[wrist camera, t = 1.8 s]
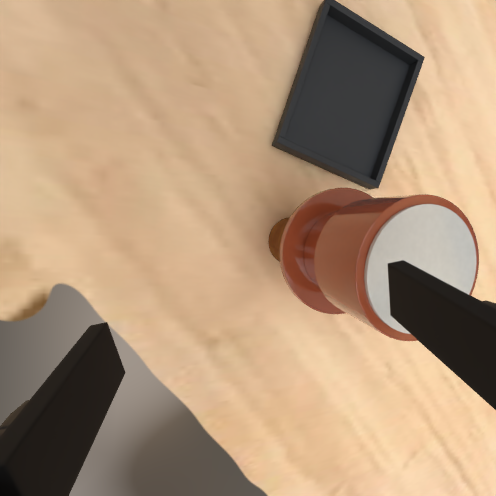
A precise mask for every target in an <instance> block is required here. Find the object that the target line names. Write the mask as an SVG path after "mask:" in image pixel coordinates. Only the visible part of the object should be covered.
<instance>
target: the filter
mask: <svg viewBox="0 0 496 496" xmlns="http://www.w3.org/2000/svg"><path fill="white" fill-rule="evenodd" d="M401 260H404V261H406V262H408V263H410V264H412V265H414V266H416V267H417V268H419V269H421V270H423V271H425V272H427V273H429V274H431V275H433V276H434V277H436V278H438V279H440V280H442V281H444V282H446V283H448V284H450V285H451V286H453V287H455V288H457V289H459V290H461V291H463V292H465V293H467V294H468V295H470V296H471V294H472V292H473V289H474V286H475V283H476V279H477V274H478V265H479V252H478V245H477V240H476V236H475V233H474V231H473V228H472V226H471V224H470V222H469V220H468V219H467V217H466V216H465V215H464V213H463V212H462V211H461V210H460V209H459V208H458V207H457V206H455V205H454V204H453V203H451V202H449V201H448V200H446V199H444V198H441V197H438V196H434V195H409V196H396V197H384V198H373V197H371V196H370V195H368V194H366V193H364V192H362V191H359V190H356V189H351V188H335V189H329V190H325V191H322V192H319V193H317V194H315V195H313V196H311V197H310V198H308V199H307V200H305V201H304V202H303V203H302V204H301V205H300V206H299V207H298V208H297V209H296V210H295V211H294V213H293V214H292V216H291V217H290V219H289V221H288V223H287V224H286V227H285V229H284V232H283V235H282V239H281V245H280V264H281V269H282V273H283V276H284V279H285V281H286V283H287V285H288V287H289V288H290V290H291V291H292V292H293V294H294V295H295V296H296V297H297V298H298V299H299V300H300V301H302V302H303V303H304V304H306V305H307V306H309V307H310V308H312V309H314V310H317V311H320V312H323V313H328V314H343V313H347V314H349V315H351V316H352V317H354V318H356V319H358V320H359V321H361V322H363V323H365V324H367V325H368V326H370V327H372V328H374V329H375V330H377V331H379V332H381V333H382V334H384V335H386V336H388V337H390V338H393V339H397V340H402V341H417V339H416V338H415V337H414V336H413V335H412V334H411V333H409V332H408V331H407V330H406V329H405V328H404V327H403V326H402V325H401V324H399V323H398V322H397V321H396V320H395V319H394V318H393V317H392V316H390V298H389V281H388V263H392V262H397V261H401Z"/></svg>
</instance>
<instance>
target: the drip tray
mask: <svg viewBox="0 0 496 496" xmlns="http://www.w3.org/2000/svg"><path fill="white" fill-rule="evenodd" d="M424 58H425V57H423V56H422V55H420V54H419V53H417V52H416V51H414V50H412V49H411V48H409V47H408V46H406V45H404V44H403V43H401V42H400V41H398V40H397V39H395V38H393V37H392V36H390V35H389V34H387V33H385V32H384V31H382V30H381V29H379V28H378V27H376V26H374V25H373V24H371V23H370V22H368V21H366V20H365V19H363V18H362V17H360V16H359V15H357V14H355V13H354V12H352V11H351V10H349V9H348V8H346V7H344V6H343V5H341V4H340V3H338V2H336V1H335V0H324V1H323V3H322V4H321V5H320V7H319V10H318V13H317V16H316V18H315V21H314V24H313V27H312V30H311V33H310V36H309V39H308V42H307V45H306V48H305V50H304V53H303V56H302V59H301V62H300V65H299V68H298V71H297V74H296V77H295V79H294V82H293V85H292V88H291V91H290V94H289V97H288V100H287V103H286V106H285V109H284V111H283V114H282V117H281V120H280V123H279V126H278V129H277V132H276V135H275V138H274V141H273V143H272V146H274V147H276V148H278V149H281V150H283V151H285V152H287V153H290V154H292V155H294V156H296V157H298V158H301V159H303V160H305V161H307V162H310V163H312V164H314V165H316V166H319V167H321V168H323V169H325V170H327V171H330V172H332V173H334V174H336V175H339V176H341V177H343V178H345V179H348V180H350V181H352V182H354V183H356V184H359V185H361V186H363V187H365V188H368V189H374V188H379V185H380V182H381V179H382V177H383V174H384V171H385V168H386V165H387V162H388V160H389V157H390V154H391V151H392V148H393V145H394V143H395V140H396V137H397V134H398V131H399V128H400V126H401V123H402V120H403V117H404V114H405V111H406V109H407V106H408V103H409V100H410V97H411V94H412V92H413V89H414V86H415V83H416V80H417V78H418V75H419V72H420V69H421V66H422V63H423V60H424Z"/></svg>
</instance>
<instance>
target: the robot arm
mask: <svg viewBox="0 0 496 496" xmlns="http://www.w3.org/2000/svg"><path fill="white" fill-rule="evenodd" d="M388 281H389V298H390V316H392V317H393V318H394V319H395V320H396V321H397V322H398V323H399V324H401V325H402V326H403V327H404V328H405V329H406V330H407V331H408V332H409V333H411V334H412V335H413V336H414V337H415V338H416V339H417V340H418V341H419V342H421V343H422V344H423V345H424V346H425V347H426V348H427V349H428V350H430V351H431V352H432V353H433V354H434V355H435V356H436V357H437V358H438V359H440V360H441V361H442V362H443V363H444V364H445V365H446V366H447V367H448V368H450V369H451V370H452V371H453V372H454V373H455V374H456V375H457V376H458V377H460V378H461V379H462V380H463V381H464V382H465V383H466V384H467V385H469V386H470V387H471V388H472V389H473V390H474V391H475V392H476V393H477V394H479V395H480V396H481V397H482V398H483V399H484V400H485V401H486V402H487V403H489V404H490V405H491V406H492V407H493V408H494V409H495V410H496V303H492V302H489V301H480V300H478V299H476V298H474V297H472V296H470V295H468V294H467V293H465V292H463V291H461V290H459V289H457V288H455V287H453V286H451V285H450V284H448V283H446V282H444V281H442V280H440V279H438V278H436V277H434V276H433V275H431V274H429V273H427V272H425V271H423V270H421V269H419V268H417V267H416V266H414V265H412V264H410V263H408V262H406V261H404V260H401V261H397V262H392V263H388ZM124 374H125V370H124V368H123V365H122V362H121V359H120V357H119V354H118V351H117V348H116V346H115V343H114V340H113V337H112V335H111V332H110V329H109V326H108V324H107V322H106V323H101V324H96V325H92V326H90V327H89V328H88V329H87V330H86V332H85V333H84V334H83V335H82V337H81V338H80V339H79V340H78V341H77V343H76V344H75V345H74V346H73V348H72V349H71V350H70V351H69V352H68V354H67V355H66V356H65V358H64V359H63V360H62V361H61V362H60V364H59V365H58V366H57V367H56V368H55V370H54V371H53V372H52V373H51V375H50V376H49V377H48V378H47V380H46V381H45V382H44V383H43V385H42V386H41V387H40V388H39V389H38V391H37V392H36V393H35V394H34V396H33V397H32V398H31V399H30V400H28V401H26V402H24V403H23V404H22V405H21V406H20V407H18V408H17V409H16V410H15V411H14V412H12V413H11V414H10V415H9V417H8V418H7V419H6V420H5V421H4V422H3V423H2V425H1V426H0V496H69V493H70V491H71V489H72V487H73V485H74V483H75V481H76V479H77V476H78V474H79V472H80V470H81V468H82V466H83V463H84V461H85V459H86V457H87V455H88V452H89V450H90V448H91V446H92V444H93V442H94V440H95V437H96V435H97V433H98V431H99V429H100V427H101V424H102V422H103V420H104V418H105V416H106V413H107V411H108V409H109V407H110V405H111V402H112V400H113V398H114V396H115V394H116V392H117V390H118V387H119V385H120V383H121V381H122V379H123V377H124Z"/></svg>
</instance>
